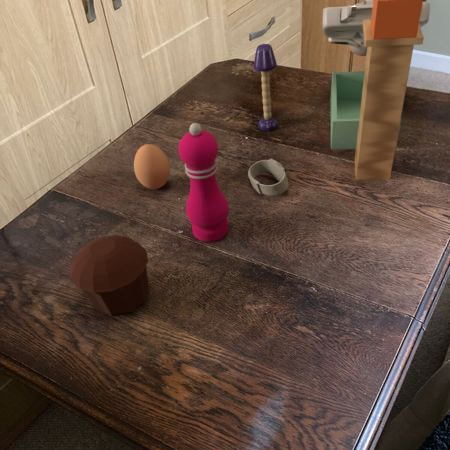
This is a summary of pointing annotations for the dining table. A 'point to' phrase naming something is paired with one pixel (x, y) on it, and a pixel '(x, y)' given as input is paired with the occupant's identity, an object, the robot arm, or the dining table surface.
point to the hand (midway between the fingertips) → (378, 8)
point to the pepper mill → (203, 185)
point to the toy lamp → (265, 83)
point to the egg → (151, 166)
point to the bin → (346, 108)
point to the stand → (382, 102)
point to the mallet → (395, 18)
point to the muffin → (112, 273)
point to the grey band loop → (274, 169)
